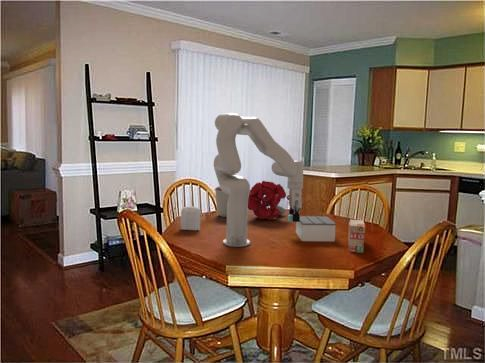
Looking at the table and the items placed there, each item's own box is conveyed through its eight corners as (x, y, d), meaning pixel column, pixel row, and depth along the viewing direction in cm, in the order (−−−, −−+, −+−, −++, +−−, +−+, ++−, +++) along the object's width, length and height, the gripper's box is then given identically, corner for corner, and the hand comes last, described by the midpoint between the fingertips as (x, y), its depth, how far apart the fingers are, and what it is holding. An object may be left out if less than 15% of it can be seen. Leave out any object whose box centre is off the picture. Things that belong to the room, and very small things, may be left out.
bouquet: (261, 223, 262) (234, 205, 241) (275, 190, 267) (250, 170, 246) (287, 232, 248) (261, 213, 226) (302, 197, 253) (278, 176, 231)
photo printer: (200, 229, 216) (201, 206, 214) (199, 231, 212) (199, 207, 210) (181, 228, 217) (182, 205, 215) (179, 230, 213) (179, 206, 211)
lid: (291, 224, 195) (291, 218, 195) (285, 217, 212) (285, 211, 211) (336, 225, 197) (336, 219, 196) (327, 218, 213) (327, 212, 213)
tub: (334, 241, 198) (335, 225, 197) (302, 241, 197) (302, 224, 196) (325, 233, 214) (326, 218, 213) (295, 232, 213) (296, 217, 212)
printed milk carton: (347, 239, 202) (349, 215, 201) (360, 240, 201) (362, 216, 199) (348, 252, 182) (350, 224, 180) (363, 253, 180) (365, 226, 179)
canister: (213, 212, 260) (214, 179, 257) (242, 212, 261) (243, 180, 258) (213, 218, 242) (214, 183, 239) (244, 219, 243) (245, 184, 240)
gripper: (306, 188, 193) (305, 223, 195) (299, 183, 210) (298, 215, 213) (290, 188, 193) (289, 223, 195) (284, 183, 210) (283, 215, 212)
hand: (294, 219), depth 204 cm, fingers open, 9 cm apart
